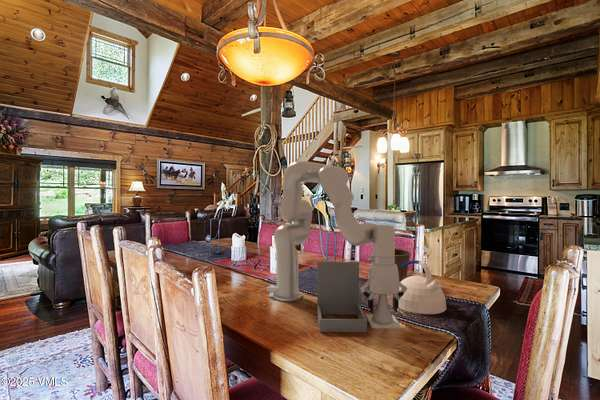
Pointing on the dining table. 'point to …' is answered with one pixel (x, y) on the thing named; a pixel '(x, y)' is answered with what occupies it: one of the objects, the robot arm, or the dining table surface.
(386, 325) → the rubber mat
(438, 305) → the kettle
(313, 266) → the dining table surface
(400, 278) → the plant pot
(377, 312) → the flask
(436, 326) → the dining table surface
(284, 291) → the robot arm
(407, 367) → the dining table surface
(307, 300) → the dining table surface
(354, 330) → the case
